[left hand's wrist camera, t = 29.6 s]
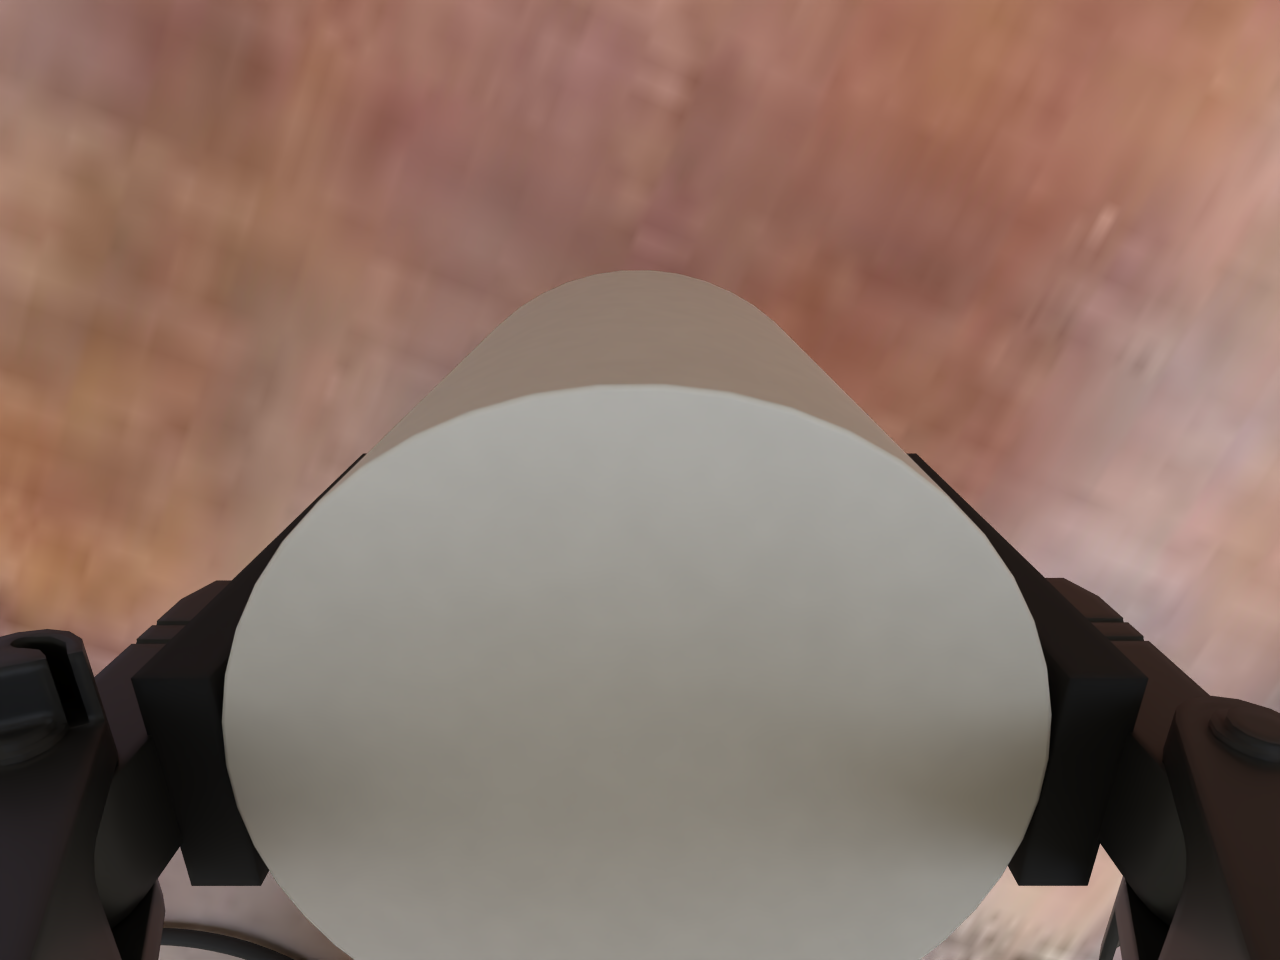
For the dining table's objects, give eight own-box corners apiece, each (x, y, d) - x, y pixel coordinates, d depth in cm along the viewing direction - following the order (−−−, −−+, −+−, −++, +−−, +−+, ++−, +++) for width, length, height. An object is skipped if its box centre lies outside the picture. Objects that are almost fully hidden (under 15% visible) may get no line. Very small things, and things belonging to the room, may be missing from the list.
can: (910, 483, 16) (1206, 808, 8) (625, 695, 18) (612, 1138, 10) (655, 174, 14) (679, 154, 5) (362, 455, 16) (50, 758, 7)
